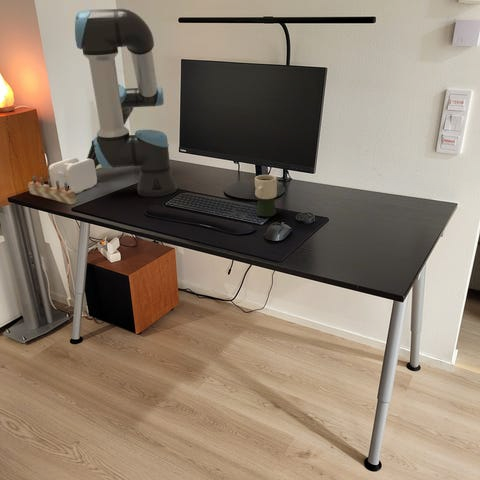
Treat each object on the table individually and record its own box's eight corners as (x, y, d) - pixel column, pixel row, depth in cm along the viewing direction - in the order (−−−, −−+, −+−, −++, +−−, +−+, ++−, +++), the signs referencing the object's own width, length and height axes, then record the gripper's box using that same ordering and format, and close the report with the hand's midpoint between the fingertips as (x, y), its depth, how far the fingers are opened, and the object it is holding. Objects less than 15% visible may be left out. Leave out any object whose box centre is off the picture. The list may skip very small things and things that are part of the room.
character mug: (263, 208, 169) (262, 172, 164) (282, 211, 166) (282, 174, 161) (249, 219, 160) (248, 181, 155) (269, 222, 157) (268, 183, 152)
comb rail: (76, 202, 182) (73, 183, 179) (71, 204, 180) (67, 185, 177) (35, 191, 196) (31, 173, 193) (30, 193, 194) (26, 175, 191)
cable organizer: (72, 196, 189) (66, 167, 185) (52, 193, 194) (46, 164, 189) (98, 185, 202) (94, 157, 197) (79, 182, 206) (74, 155, 201)
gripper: (127, 135, 207) (102, 184, 201) (107, 133, 214) (82, 179, 208) (116, 125, 201) (89, 174, 195) (95, 122, 208) (69, 170, 202)
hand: (86, 177), depth 202 cm, fingers closed
